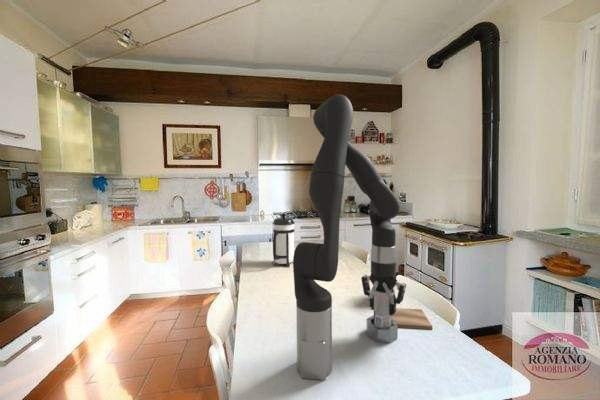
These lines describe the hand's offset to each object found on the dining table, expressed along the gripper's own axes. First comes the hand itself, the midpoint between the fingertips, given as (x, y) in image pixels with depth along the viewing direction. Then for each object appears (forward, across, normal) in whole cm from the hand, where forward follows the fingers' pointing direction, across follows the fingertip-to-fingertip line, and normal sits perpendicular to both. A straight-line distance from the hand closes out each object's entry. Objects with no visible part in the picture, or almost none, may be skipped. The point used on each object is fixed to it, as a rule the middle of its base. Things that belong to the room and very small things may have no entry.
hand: (382, 311), depth 88 cm
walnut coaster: (+8, +3, +16) cm, 18 cm away
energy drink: (+5, 0, 0) cm, 5 cm away
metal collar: (+8, 0, 0) cm, 8 cm away
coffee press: (+7, -74, +37) cm, 83 cm away
